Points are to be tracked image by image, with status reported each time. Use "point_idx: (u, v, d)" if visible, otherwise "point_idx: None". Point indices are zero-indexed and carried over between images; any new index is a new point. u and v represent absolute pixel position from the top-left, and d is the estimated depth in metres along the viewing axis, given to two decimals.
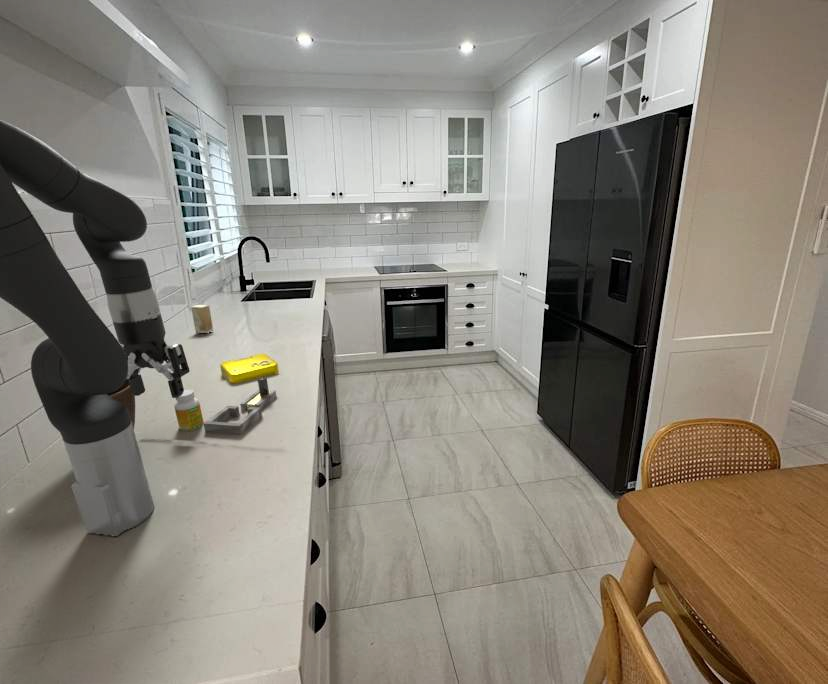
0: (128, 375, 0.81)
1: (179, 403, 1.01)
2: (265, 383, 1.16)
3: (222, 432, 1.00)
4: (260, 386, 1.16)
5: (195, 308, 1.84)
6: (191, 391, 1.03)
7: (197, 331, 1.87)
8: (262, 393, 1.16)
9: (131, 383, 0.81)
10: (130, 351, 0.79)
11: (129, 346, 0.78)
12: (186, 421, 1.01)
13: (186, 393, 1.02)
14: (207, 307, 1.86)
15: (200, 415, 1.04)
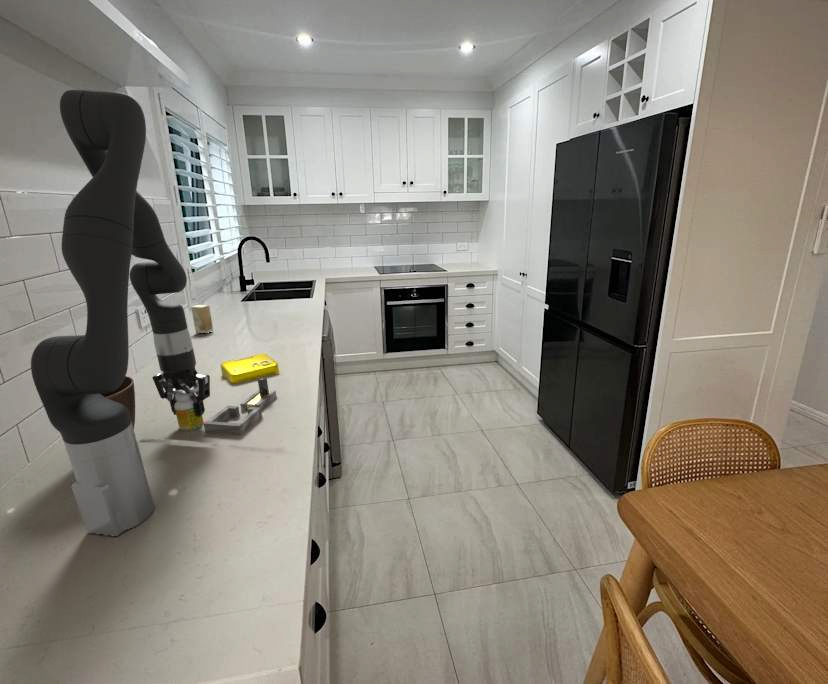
0: (170, 398, 1.02)
1: (179, 403, 1.01)
2: (265, 383, 1.16)
3: (222, 432, 1.00)
4: (260, 386, 1.16)
5: (195, 308, 1.84)
6: None
7: (197, 331, 1.87)
8: (262, 393, 1.16)
9: (172, 405, 1.02)
10: (168, 376, 1.00)
11: (166, 372, 1.00)
12: (186, 421, 1.01)
13: None
14: (207, 307, 1.86)
15: None
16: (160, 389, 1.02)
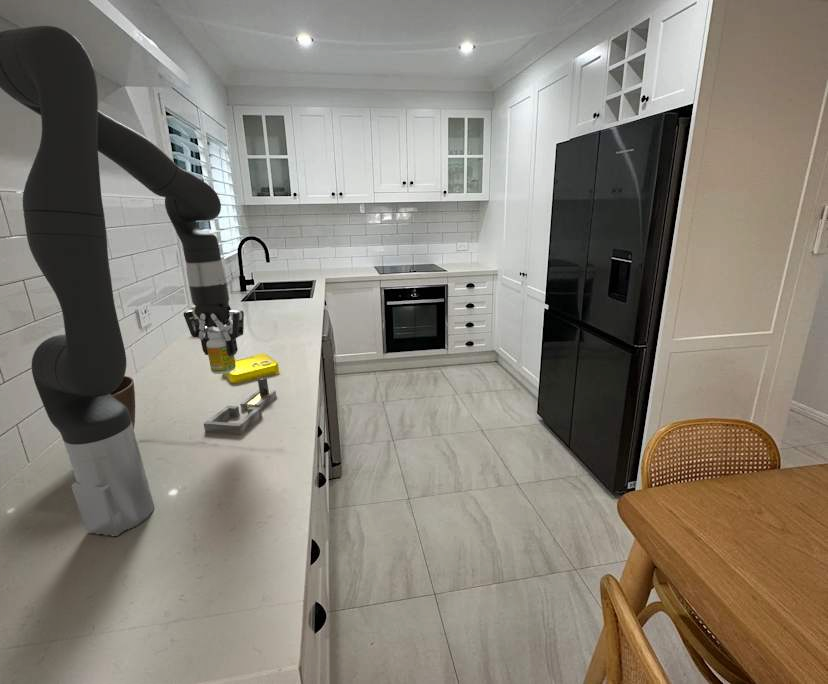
0: (202, 336, 0.97)
1: (211, 341, 0.96)
2: (265, 383, 1.16)
3: (222, 432, 1.00)
4: (260, 386, 1.16)
5: None
6: None
7: None
8: (262, 393, 1.16)
9: (204, 344, 0.98)
10: (200, 312, 0.95)
11: (199, 308, 0.95)
12: (219, 360, 0.97)
13: (219, 331, 0.97)
14: None
15: (233, 355, 0.99)
16: (191, 326, 0.97)
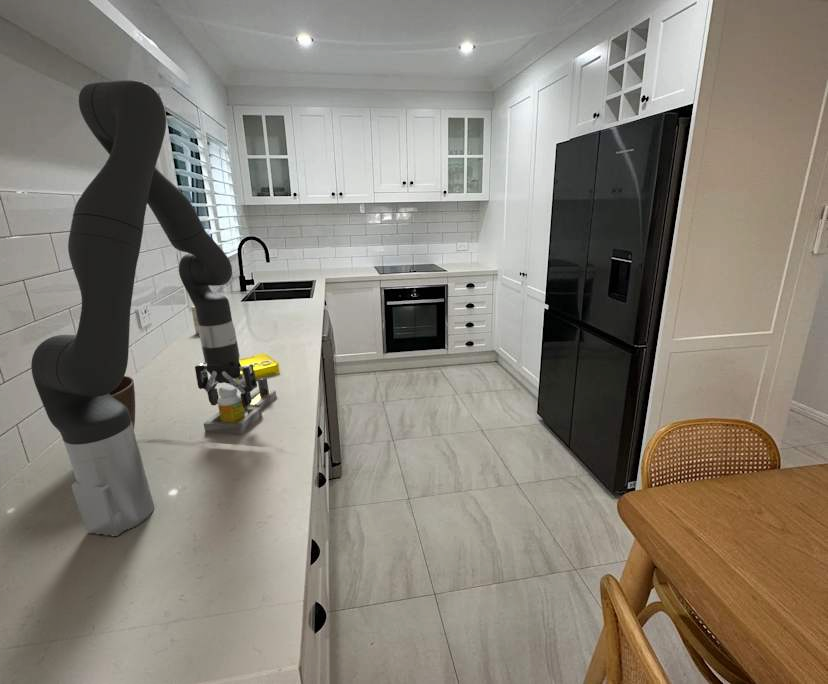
0: (208, 389, 1.01)
1: (223, 398, 1.00)
2: (265, 383, 1.16)
3: (222, 432, 1.00)
4: (260, 386, 1.16)
5: None
6: None
7: (197, 331, 1.87)
8: (262, 393, 1.16)
9: (210, 395, 1.02)
10: (212, 369, 0.99)
11: (211, 365, 0.99)
12: (230, 417, 1.01)
13: (230, 388, 1.01)
14: None
15: (242, 411, 1.03)
16: (200, 379, 1.01)
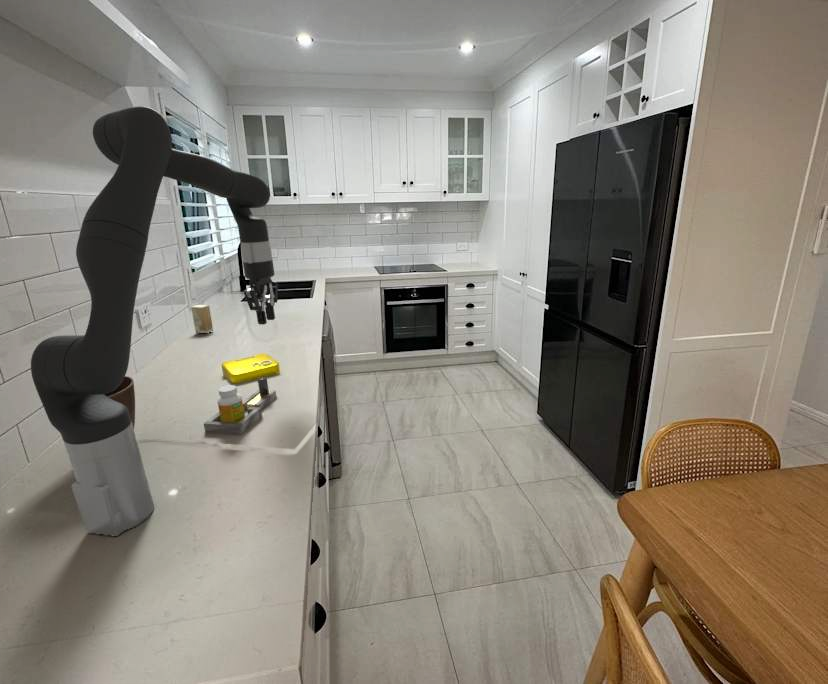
0: None
1: (223, 398, 1.00)
2: (265, 383, 1.16)
3: (222, 432, 1.00)
4: (260, 386, 1.16)
5: (195, 308, 1.84)
6: (234, 386, 1.02)
7: (197, 331, 1.87)
8: (262, 393, 1.16)
9: None
10: None
11: None
12: (230, 417, 1.01)
13: (230, 389, 1.01)
14: (207, 307, 1.86)
15: (242, 411, 1.03)
16: None
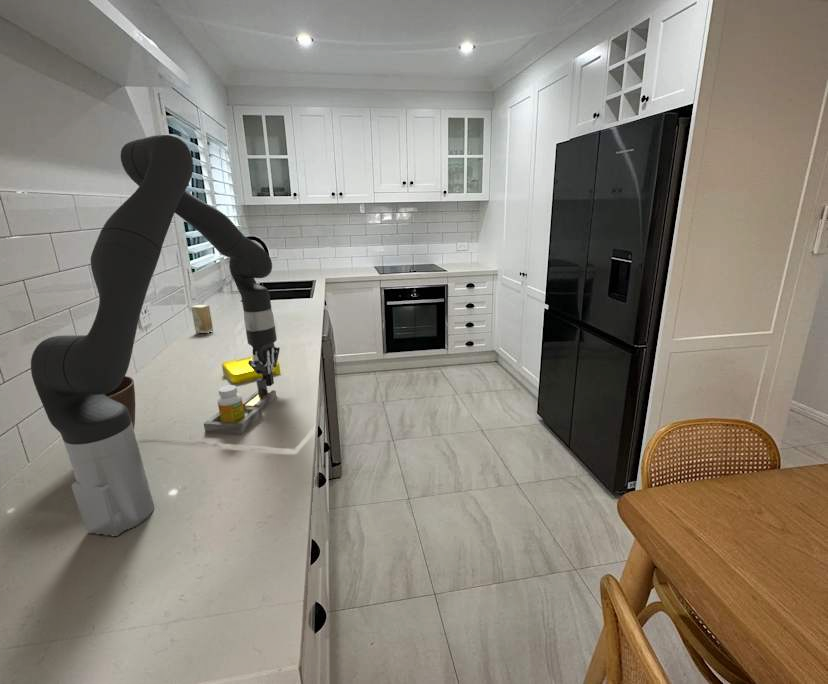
0: None
1: (223, 398, 1.00)
2: (264, 384, 1.15)
3: (222, 432, 1.00)
4: (259, 387, 1.15)
5: (195, 308, 1.84)
6: (234, 386, 1.02)
7: (197, 331, 1.87)
8: (261, 394, 1.16)
9: None
10: None
11: None
12: (230, 417, 1.01)
13: (230, 389, 1.01)
14: (207, 307, 1.86)
15: (242, 411, 1.03)
16: None
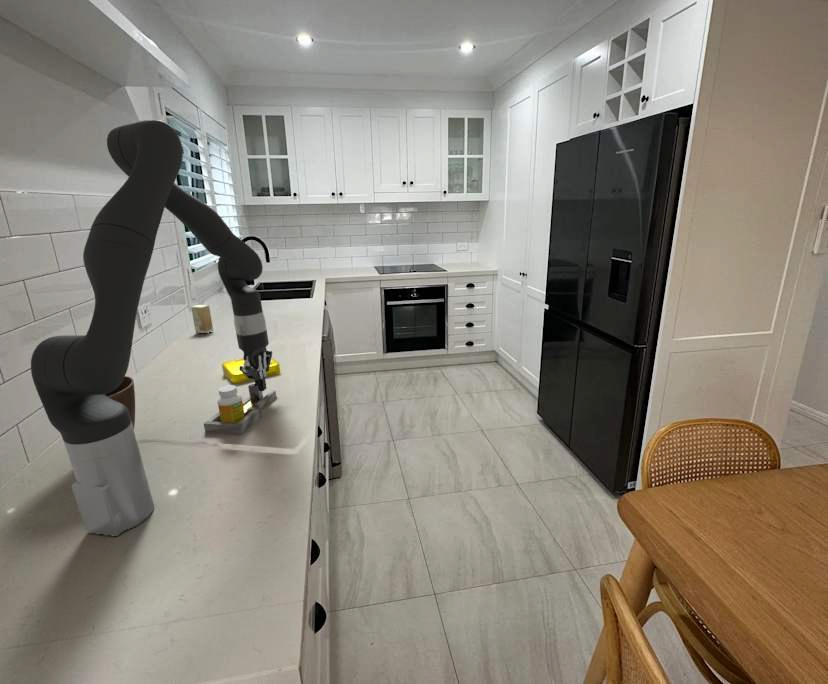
0: None
1: (223, 398, 1.00)
2: (256, 390, 1.12)
3: (222, 432, 1.00)
4: (251, 393, 1.11)
5: (195, 308, 1.84)
6: (234, 386, 1.02)
7: (197, 331, 1.87)
8: (253, 400, 1.12)
9: None
10: None
11: None
12: (230, 417, 1.01)
13: (230, 389, 1.01)
14: (207, 307, 1.86)
15: (242, 411, 1.03)
16: None
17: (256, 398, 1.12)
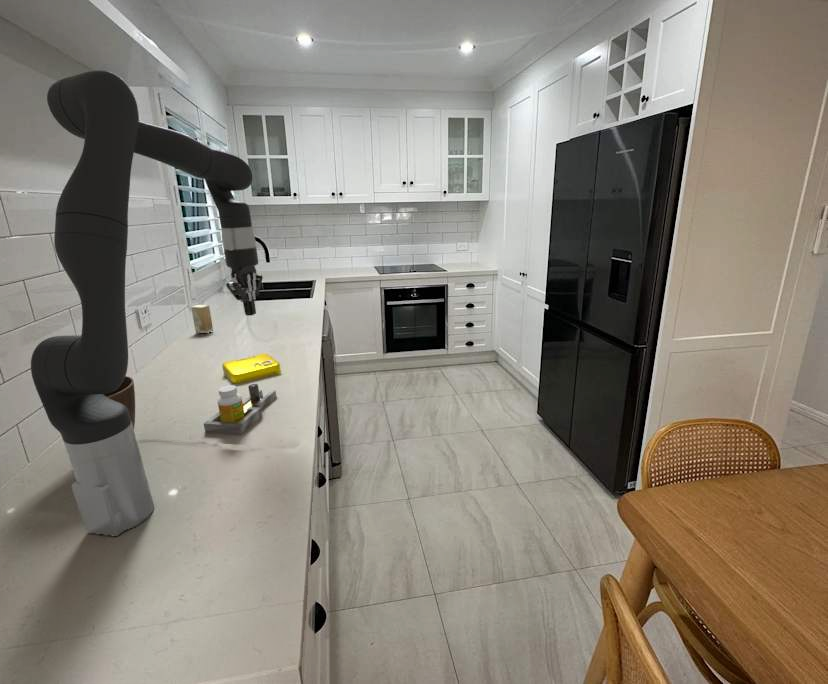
0: None
1: (223, 398, 1.00)
2: (256, 390, 1.12)
3: (222, 432, 1.00)
4: (251, 393, 1.11)
5: (195, 308, 1.84)
6: (234, 386, 1.02)
7: (197, 331, 1.87)
8: (253, 400, 1.12)
9: None
10: None
11: None
12: (230, 417, 1.01)
13: (230, 389, 1.01)
14: (207, 307, 1.86)
15: (242, 411, 1.03)
16: None
17: (256, 398, 1.12)
